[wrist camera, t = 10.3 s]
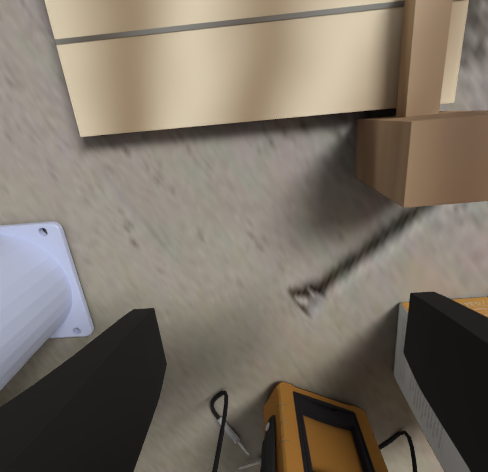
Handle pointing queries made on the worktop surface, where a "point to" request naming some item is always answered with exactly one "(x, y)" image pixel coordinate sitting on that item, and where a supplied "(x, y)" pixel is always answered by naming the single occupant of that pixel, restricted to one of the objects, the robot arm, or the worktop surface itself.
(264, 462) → the multimeter
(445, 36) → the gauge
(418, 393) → the small box
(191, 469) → the worktop surface
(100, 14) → the board
